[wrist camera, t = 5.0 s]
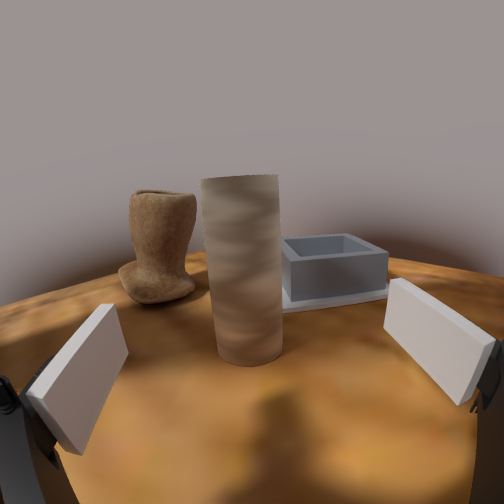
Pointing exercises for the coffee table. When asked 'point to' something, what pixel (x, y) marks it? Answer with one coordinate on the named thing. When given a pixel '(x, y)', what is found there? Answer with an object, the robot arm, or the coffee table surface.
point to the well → (331, 272)
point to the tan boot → (159, 245)
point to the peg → (244, 266)
